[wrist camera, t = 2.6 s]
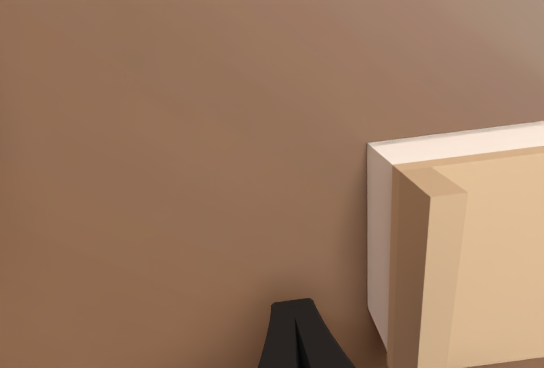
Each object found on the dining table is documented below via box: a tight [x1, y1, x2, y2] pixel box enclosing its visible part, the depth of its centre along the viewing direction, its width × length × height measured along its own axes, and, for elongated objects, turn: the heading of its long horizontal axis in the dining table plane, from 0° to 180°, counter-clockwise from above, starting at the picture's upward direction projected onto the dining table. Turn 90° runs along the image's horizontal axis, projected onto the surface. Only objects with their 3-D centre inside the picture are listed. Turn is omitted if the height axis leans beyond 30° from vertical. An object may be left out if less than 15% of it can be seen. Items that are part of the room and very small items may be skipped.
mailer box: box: [367, 121, 544, 350], centre depth 15 cm, size 11×9×3 cm
